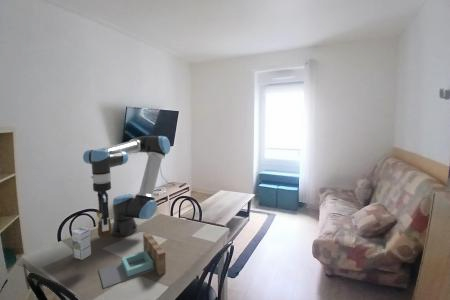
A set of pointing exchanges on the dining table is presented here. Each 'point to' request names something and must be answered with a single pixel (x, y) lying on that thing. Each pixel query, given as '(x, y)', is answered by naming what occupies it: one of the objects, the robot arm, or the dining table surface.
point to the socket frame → (138, 268)
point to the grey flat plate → (119, 273)
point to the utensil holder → (100, 232)
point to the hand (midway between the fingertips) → (104, 227)
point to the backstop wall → (155, 253)
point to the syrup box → (81, 243)
